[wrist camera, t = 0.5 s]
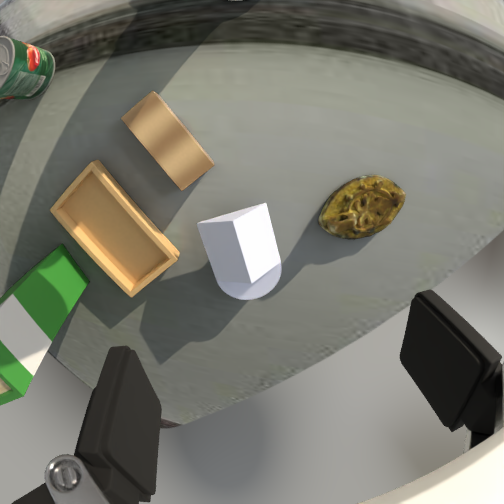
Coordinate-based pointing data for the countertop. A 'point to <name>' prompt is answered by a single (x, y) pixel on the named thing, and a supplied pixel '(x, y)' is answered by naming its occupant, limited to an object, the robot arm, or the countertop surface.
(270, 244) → the wedge on round base
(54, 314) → the hardback book
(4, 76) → the canned tomato
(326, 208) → the yellow-brown textured oval
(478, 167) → the countertop surface
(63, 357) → the countertop surface
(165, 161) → the eraser
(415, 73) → the countertop surface
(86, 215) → the holder
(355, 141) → the countertop surface
